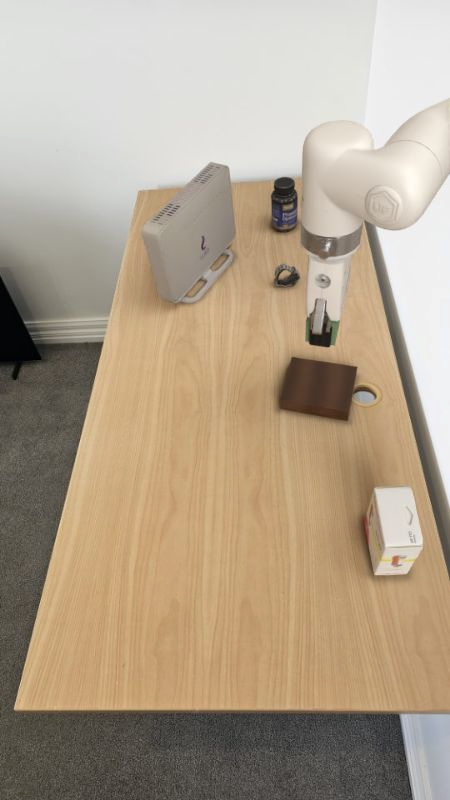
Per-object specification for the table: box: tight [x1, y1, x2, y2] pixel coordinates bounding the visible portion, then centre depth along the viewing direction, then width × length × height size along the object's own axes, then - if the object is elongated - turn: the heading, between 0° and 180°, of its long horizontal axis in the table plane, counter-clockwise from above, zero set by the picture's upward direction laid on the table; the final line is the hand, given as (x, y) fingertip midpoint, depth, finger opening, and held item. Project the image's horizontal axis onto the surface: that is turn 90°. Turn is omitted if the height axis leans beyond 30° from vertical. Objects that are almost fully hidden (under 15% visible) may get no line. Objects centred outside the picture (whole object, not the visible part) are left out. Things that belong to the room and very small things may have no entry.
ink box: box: [363, 485, 424, 576], centre depth 69 cm, size 9×5×12 cm, turn 0°
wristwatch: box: [273, 263, 301, 288], centre depth 107 cm, size 3×5×5 cm
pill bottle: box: [270, 176, 299, 233], centre depth 116 cm, size 6×6×11 cm
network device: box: [141, 161, 237, 304], centre depth 106 cm, size 26×9×20 cm, turn 148°
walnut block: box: [279, 356, 358, 422], centre depth 90 cm, size 12×10×3 cm
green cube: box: [304, 309, 341, 347], centre depth 75 cm, size 4×4×4 cm
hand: (322, 331), depth 77 cm, fingers closed on green cube, 4 cm apart
